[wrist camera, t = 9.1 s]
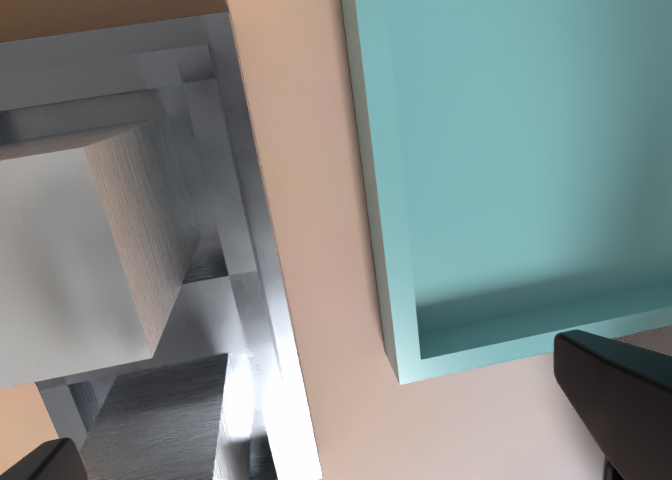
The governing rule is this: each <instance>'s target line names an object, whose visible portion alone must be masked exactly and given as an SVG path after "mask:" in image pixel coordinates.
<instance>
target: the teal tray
mask: <svg viewBox="0 0 672 480" xmlns="http://www.w3.org/2000/svg"><path fill="white" fill-rule="evenodd" d="M341 3H342V11H343V19H344V27H345V35H346V43H347V51H348V59H349V67H350V75H351V83H352V91H353V99H354V107H355V115H356V123H357V131H358V139H359V147H360V155H361V163H362V171H363V179H364V187H365V195H366V203H367V210H368V218H369V226H370V234H371V242H372V250H373V258H374V266H375V274H376V282H377V290H378V298H379V306H380V314H381V322H382V330H383V338H384V346H385V353H386V355H387V357H388V360H389V362H390V364H391V366H392V369H393V371H394V373H395V375H396V377H397V380H398V382H399V384H400V385H402V384H406V383H411V382H415V381H420V380H425V379H429V378H434V377H438V376H443V375H448V374H452V373H457V372H461V371H466V370H470V369H475V368H480V367H484V366H489V365H493V364H498V363H502V362H507V361H512V360H516V359H521V358H525V357H530V356H534V355H539V354H544V353H548V352H553V351H554V337H555V335H556V334H557V333H560V332H565V331H569V330H574V329H578V330H582V331H586V332H589V333H592V334H596V335H599V336H603V337H606V338H610V339H612V338H617V337H621V336H626V335H631V334H635V333H640V332H644V331H649V330H653V329H658V328H663V327H667V326H672V0H341Z"/></svg>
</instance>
